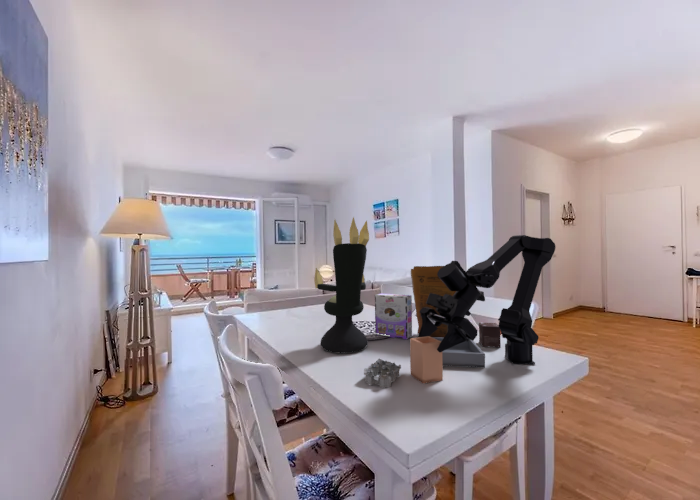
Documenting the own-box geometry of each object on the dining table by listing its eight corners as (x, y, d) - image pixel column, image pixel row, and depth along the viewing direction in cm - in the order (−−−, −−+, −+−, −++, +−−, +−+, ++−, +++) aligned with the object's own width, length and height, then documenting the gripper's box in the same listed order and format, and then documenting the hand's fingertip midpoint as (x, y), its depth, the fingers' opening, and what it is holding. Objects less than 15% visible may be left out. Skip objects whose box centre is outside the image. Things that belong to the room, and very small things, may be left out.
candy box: (412, 336, 123) (412, 294, 123) (407, 340, 118) (406, 296, 118) (381, 332, 130) (380, 292, 130) (374, 335, 125) (374, 294, 125)
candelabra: (361, 337, 122) (360, 222, 122) (385, 355, 101) (384, 216, 101) (313, 342, 116) (312, 221, 116) (328, 362, 95) (327, 214, 95)
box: (500, 348, 108) (500, 326, 108) (482, 347, 109) (482, 326, 109) (496, 342, 114) (496, 322, 114) (478, 342, 115) (478, 322, 115)
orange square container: (429, 371, 87) (428, 336, 87) (442, 380, 82) (442, 341, 82) (410, 375, 85) (410, 338, 85) (422, 383, 79) (422, 344, 79)
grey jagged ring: (387, 390, 76) (387, 374, 76) (360, 384, 80) (360, 368, 80) (403, 375, 86) (403, 360, 85) (378, 370, 89) (378, 355, 89)
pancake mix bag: (459, 343, 114) (458, 266, 114) (410, 335, 125) (409, 265, 125) (463, 338, 119) (463, 265, 119) (416, 331, 130) (416, 264, 130)
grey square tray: (471, 350, 106) (471, 338, 106) (485, 367, 90) (484, 353, 90) (422, 348, 108) (422, 336, 108) (428, 365, 92) (428, 351, 92)
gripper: (424, 279, 94) (392, 319, 90) (468, 286, 77) (430, 335, 73) (446, 304, 97) (415, 343, 93) (493, 316, 79) (457, 365, 76)
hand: (427, 346), depth 84 cm, fingers open, 9 cm apart
